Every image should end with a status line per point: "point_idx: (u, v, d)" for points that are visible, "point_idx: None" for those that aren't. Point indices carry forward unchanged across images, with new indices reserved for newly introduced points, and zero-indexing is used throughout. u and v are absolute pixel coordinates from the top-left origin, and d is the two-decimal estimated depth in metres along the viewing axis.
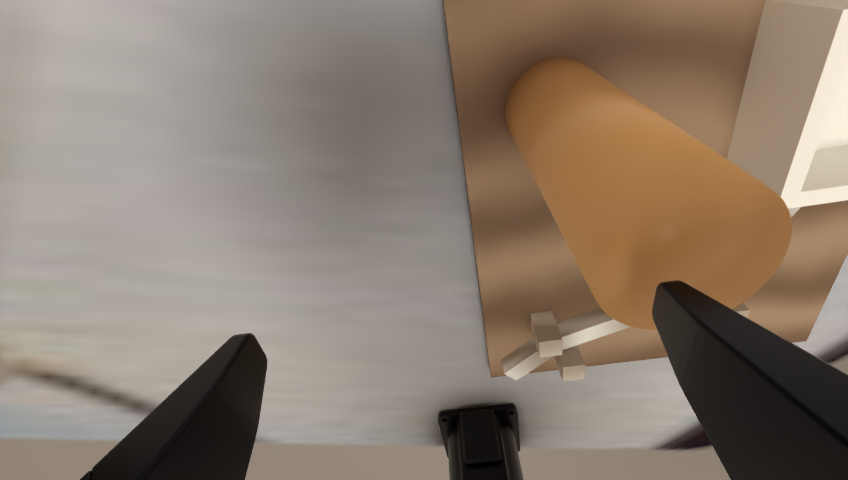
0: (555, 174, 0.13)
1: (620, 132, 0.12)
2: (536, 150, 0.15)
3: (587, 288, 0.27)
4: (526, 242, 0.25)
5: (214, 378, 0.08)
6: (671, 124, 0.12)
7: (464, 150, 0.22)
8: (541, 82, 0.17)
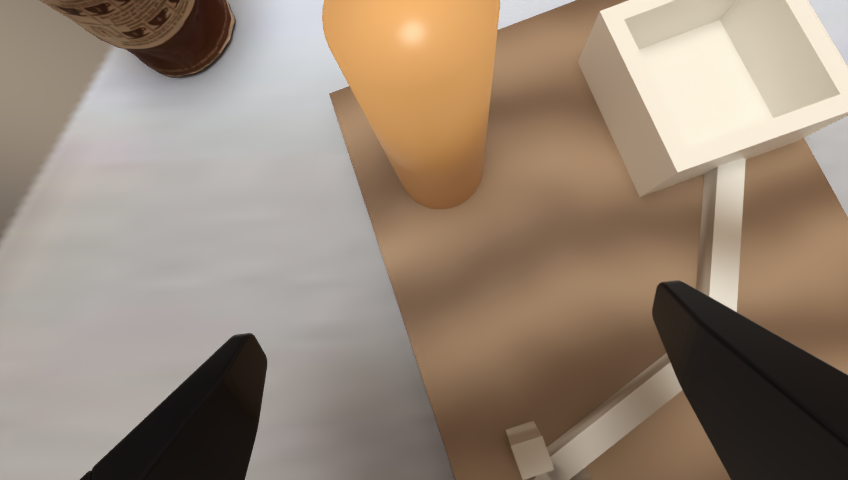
0: None
1: None
2: None
3: (565, 374, 0.21)
4: (463, 315, 0.22)
5: (214, 378, 0.08)
6: None
7: (372, 221, 0.23)
8: None
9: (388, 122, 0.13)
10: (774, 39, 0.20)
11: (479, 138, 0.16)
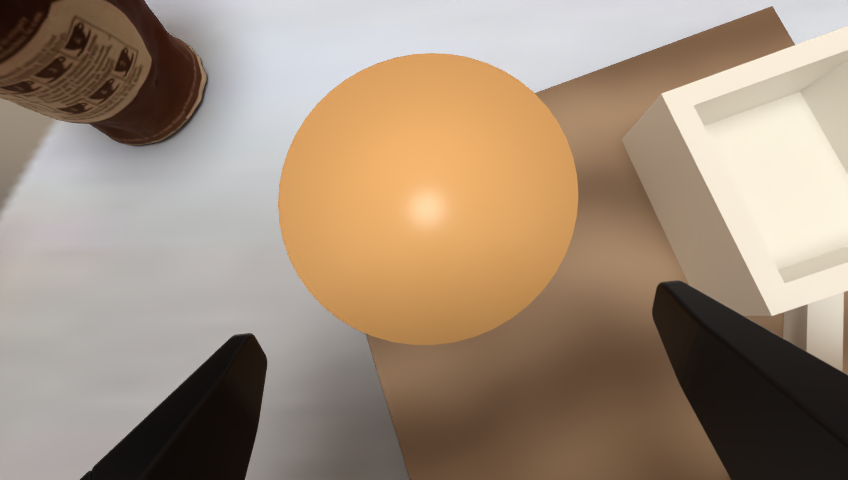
0: None
1: None
2: None
3: None
4: (482, 464, 0.17)
5: (214, 378, 0.08)
6: None
7: (368, 337, 0.19)
8: None
9: None
10: None
11: None
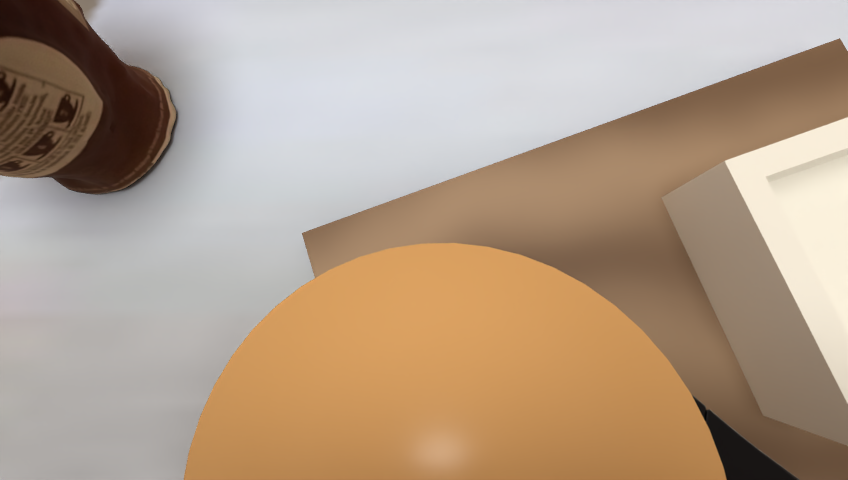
0: None
1: None
2: None
3: None
4: None
5: None
6: None
7: None
8: None
9: None
10: None
11: None
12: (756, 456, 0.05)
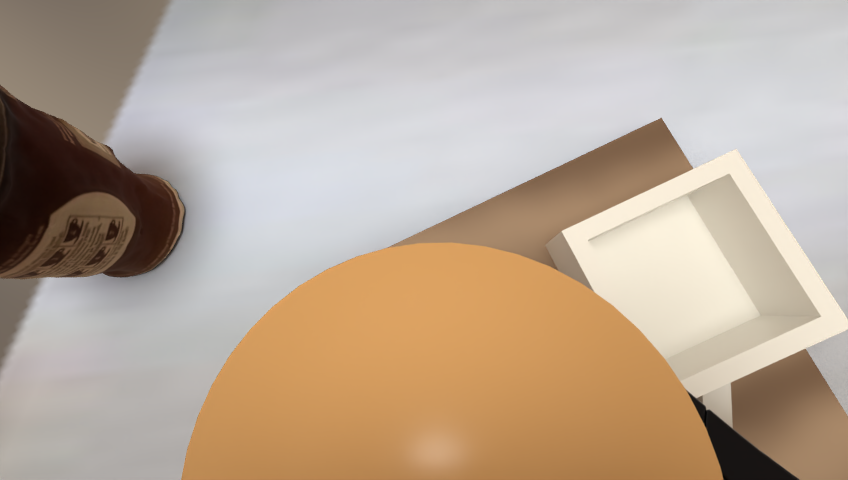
0: None
1: None
2: None
3: None
4: None
5: None
6: None
7: None
8: None
9: None
10: (746, 238, 0.19)
11: None
12: (756, 456, 0.05)
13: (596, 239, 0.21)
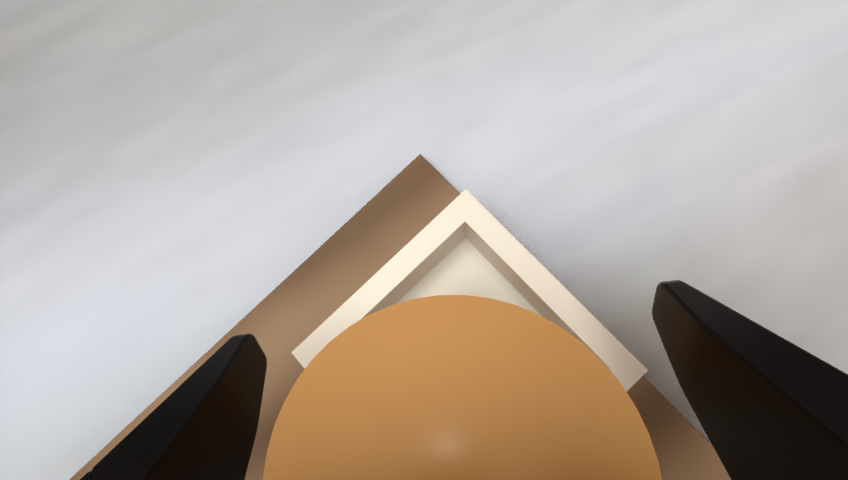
0: None
1: None
2: None
3: None
4: None
5: (214, 378, 0.08)
6: None
7: None
8: None
9: None
10: (519, 284, 0.15)
11: None
12: None
13: None
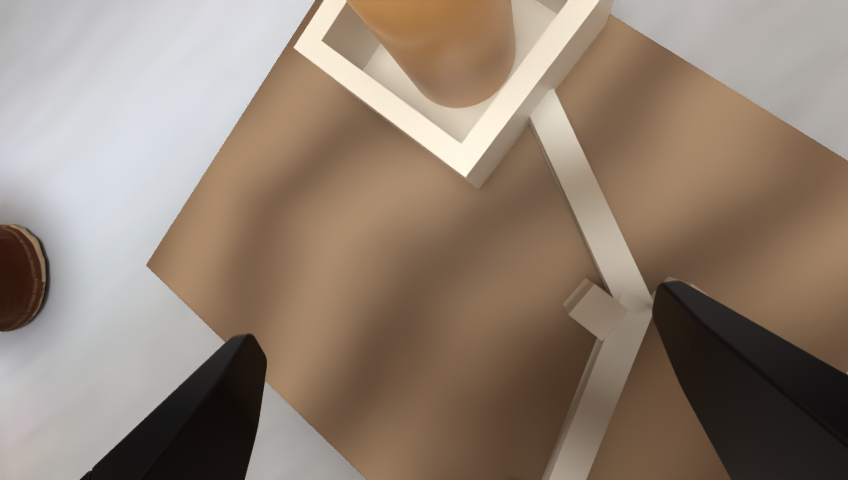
0: None
1: None
2: None
3: (509, 417, 0.18)
4: (383, 411, 0.19)
5: (214, 378, 0.08)
6: None
7: None
8: None
9: None
10: None
11: None
12: None
13: (379, 47, 0.19)
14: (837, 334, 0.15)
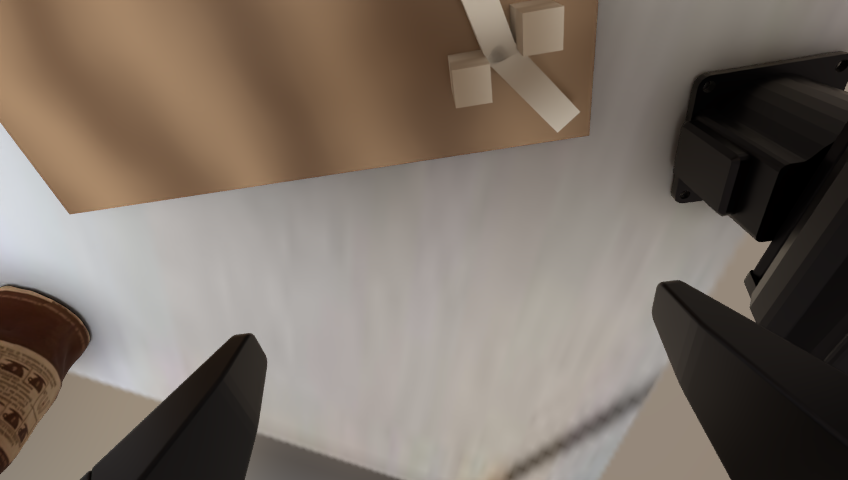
0: None
1: None
2: None
3: (400, 0, 0.16)
4: (322, 112, 0.19)
5: (214, 378, 0.08)
6: None
7: (217, 190, 0.21)
8: None
9: None
10: None
11: None
12: None
13: None
14: None
